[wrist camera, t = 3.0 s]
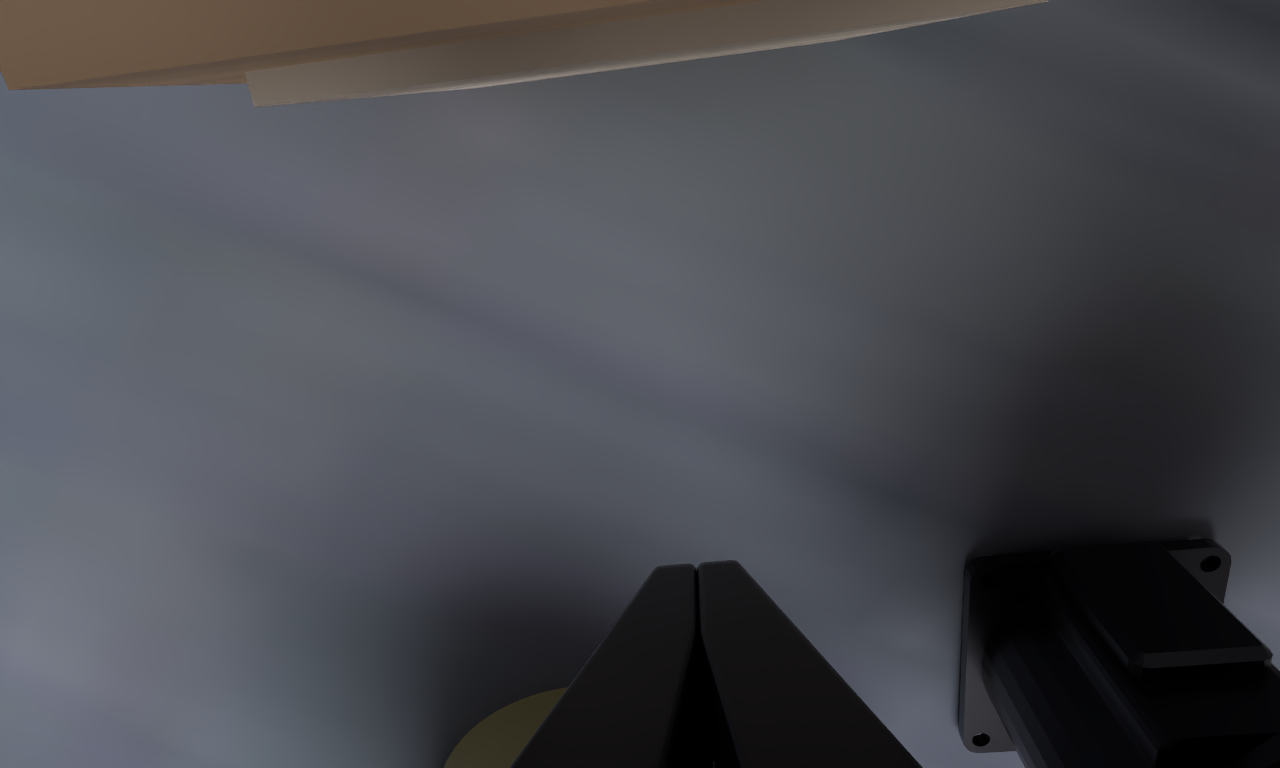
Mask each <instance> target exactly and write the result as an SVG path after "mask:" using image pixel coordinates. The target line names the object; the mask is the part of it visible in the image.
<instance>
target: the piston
mask: <svg viewBox="0 0 1280 768" xmlns="http://www.w3.org/2000/svg"><path fill="white" fill-rule="evenodd" d="M567 688H568V687H565V688H559V689H554V690H549V691H546V692H542V693H538V694H535V695H532V696H529V697H526V698H523V699H521V700H518V701H516V702H513V703H511V704H509V705H507V706H505V707H503V708H501V709H499V710H498V711H496V712H494V713H493V714H491V715H489V716H488V717H486V718H485V719H484V720H482V721H481V722H480V723H478V724H477V725H476V726H475V727H474V728H472V729H471V730H470V731H469V732H468V733H467V734H466V735H465V736H464V737H463V738H462V739H461V741H460V742H459V743H458V744H457V746H456V747H455V748H454V750H453V751H452V753H451V754H450V756H449V758H448V759H447V761H446V763H445V765H444V768H509V767H510V766H511V764H512V763H513V762H514V760H515V759H516V757H517V756H518V755H519V753H520V752H521V751H522V749H523V748H524V746H525V745H526V744H527V742H528V741H529V740H530V738H531V737H532V736H533V734H534V733H535V731H536V730H537V729H538V727H539V726H540V725H541V723H542V722H543V720H544V719H545V718H546V716H547V715H548V714H549V712H550V711H551V710H552V708H553V707H554V705H555V704H556V703H557V701H558V700H559V699H560V697H561V696H562V694H563V693H564V692H565V690H566V689H567Z"/></svg>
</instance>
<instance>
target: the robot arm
mask: <svg viewBox="0 0 1280 768" xmlns="http://www.w3.org/2000/svg"><path fill="white" fill-rule="evenodd" d="M1208 556H1210V557H1209V559H1208V560H1206V561H1205V562H1202V560H1203V559H1205V558H1206V557H1208ZM1201 562H1202V563H1201ZM1230 566H1231V556H1230V554H1229V553H1228V552H1227V551H1226V550H1225V549H1224V548H1223V547H1222V546H1221V545H1220V544H1218V543H1217V542H1215V541H1213V540H1211V539H1192V540H1180V541H1167V542H1140V543H1127V544H1115V545H1102V546H1090V547H1077V548H1065V549H1059V550H1055V551H1042V552H1030V553H1017V554H1005V555H992V556H983V557H979V558H976V559H975V560H973V561H971V562H970V563H969V565H968V566H967V567H966V570H965V577H964V603H963V628H962V654H961V680H960V706H959V734H960V737H961V739H962V741H963V744H964V746H965V747H966V748H967V749H968V750H970V751H972V752H976V753H987V752H1004V751H1017V753H1018V755H1019V757H1020V759H1021V761H1022V762H1023V764H1024V766H1025V768H1280V671H1279V670H1278V669H1277V668H1276V667H1275V666H1274V665H1273V664H1272V663H1271V661H1272V656H1273V654H1272V652H1271V651H1270V649H1269V648H1268V647H1267V646H1266V645H1265V644H1264V643H1263V642H1262V641H1261V640H1260V639H1259V638H1257V637H1256V636H1255V635H1254V634H1253V633H1252V632H1251V631H1250V630H1249V629H1248V628H1247V627H1246V626H1245V625H1244V624H1243V623H1242V622H1241V621H1240V620H1239V619H1238V618H1237V617H1236V616H1235V615H1234V614H1233V613H1232V612H1230V611H1229V610H1228V609H1227V608H1226V607H1225V606H1224V605H1223V603H1224V597H1225V592H1226V587H1227V581H1228V576H1229V571H1230ZM988 573H993V575H992V576H991V577H990V578H989V579H985V580H980V579H981V577H982V576H983V575H985V574H988ZM980 733H982V734H980ZM977 734H980V735H977ZM975 735H977V736H975ZM509 768H922V766H921V765H920V764H919V763H918V762H917V761H916V760H915V759H914V758H913V756H912V755H911V754H910V753H909V752H908V751H907V750H906V749H905V748H904V746H903V745H902V744H901V743H900V742H899V741H898V740H897V739H896V737H895V736H894V735H893V734H892V733H891V732H890V731H889V730H888V729H887V727H886V726H885V725H884V724H883V723H882V722H881V721H880V720H879V719H878V717H877V716H876V715H875V714H874V713H873V712H872V711H871V710H870V708H869V707H868V706H867V705H866V704H865V703H864V702H863V701H862V700H861V698H860V697H859V696H858V695H857V694H856V693H855V692H854V691H853V690H852V688H851V687H850V686H849V685H848V684H847V683H846V682H845V681H844V679H843V678H842V677H841V676H840V675H839V674H838V673H837V672H836V671H835V669H834V668H833V667H832V666H831V665H830V664H829V663H828V662H827V661H826V659H825V658H824V657H823V656H822V655H821V654H820V653H819V652H818V650H817V649H816V648H815V647H814V646H813V645H812V644H811V643H810V642H809V640H808V639H807V638H806V637H805V636H804V635H803V634H802V633H801V631H800V630H799V629H798V628H797V627H796V626H795V625H794V624H793V623H792V621H791V620H790V619H789V618H788V617H787V616H786V615H785V614H784V613H783V611H782V610H781V609H780V608H779V607H778V606H777V605H776V604H775V602H774V601H773V600H772V599H771V598H770V597H769V596H768V595H767V594H766V592H765V591H764V590H763V589H762V588H761V587H760V586H759V585H758V584H757V582H756V581H755V580H754V579H753V578H752V577H751V576H750V575H749V573H748V572H747V571H746V570H745V569H744V568H743V567H742V566H741V565H740V564H739V563H738V562H737V561H735V560H727V561H715V562H704V563H701V564H700V565H699V566H698V568H697V570H696V568H695V566H694V565H692V564H678V565H666V566H658V567H656V568H655V569H654V570H653V571H652V573H651V574H650V575H649V577H648V578H647V579H646V581H645V582H644V584H643V585H642V586H641V588H640V589H639V590H638V592H637V593H636V595H635V596H634V597H633V599H632V600H631V601H630V603H629V604H628V605H627V607H626V608H625V610H624V611H623V612H622V614H621V615H620V616H619V618H618V619H617V621H616V622H615V623H614V625H613V626H612V627H611V629H610V630H609V631H608V633H607V634H606V636H605V637H604V638H603V640H602V641H601V642H600V644H599V645H598V647H597V648H596V649H595V651H594V652H593V653H592V655H591V656H590V657H589V659H588V660H587V662H586V663H585V664H584V666H583V667H582V668H581V670H580V671H579V673H578V674H577V675H576V677H575V678H574V679H573V681H572V682H571V683H570V685H569V686H568V688H567V689H566V690H565V692H564V693H563V694H562V696H561V697H560V699H559V700H558V701H557V703H556V704H555V705H554V707H553V708H552V710H551V711H550V712H549V714H548V715H547V716H546V718H545V719H544V720H543V722H542V723H541V725H540V726H539V727H538V729H537V730H536V731H535V733H534V734H533V736H532V737H531V738H530V740H529V741H528V742H527V744H526V745H525V746H524V748H523V749H522V751H521V752H520V753H519V755H518V756H517V757H516V759H515V760H514V762H513V763H512V764H511V766H510V767H509Z"/></svg>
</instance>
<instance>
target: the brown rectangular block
mask: <svg viewBox="0 0 1280 768" xmlns="http://www.w3.org/2000/svg"><path fill="white" fill-rule="evenodd" d="M1048 1H1049V0H0V70H1V73H2V75H3V78H4V80H5V83H6V85H7V88H8V90H26V89H61V88H97V87H132V86H168V85H203V84H239V83H247V84H248V87H249V91H250V94H251V97H252V101H253V104H254V107H262V106H274V105H285V104H297V103H308V102H320V101H332V100H343V99H355V98H367V97H378V96H390V95H401V94H413V93H425V92H436V91H448V90H459V89H471V88H481V87H489V86H497V85H504V84H512V83H519V82H527V81H534V80H542V79H550V78H557V77H565V76H572V75H580V74H587V73H595V72H603V71H610V70H618V69H625V68H633V67H640V66H648V65H656V64H663V63H671V62H678V61H686V60H693V59H701V58H709V57H716V56H724V55H731V54H739V53H746V52H754V51H761V50H769V49H777V48H784V47H792V46H799V45H807V44H814V43H822V42H830V41H837V40H842V39H848V38H853V37H859V36H864V35H869V34H875V33H880V32H886V31H891V30H896V29H902V28H907V27H913V26H918V25H923V24H929V23H934V22H940V21H945V20H950V19H956V18H961V17H967V16H972V15H978V14H983V13H988V12H994V11H999V10H1005V9H1010V8H1015V7H1021V6H1026V5H1032V4H1037V3H1042V2H1048Z"/></svg>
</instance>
